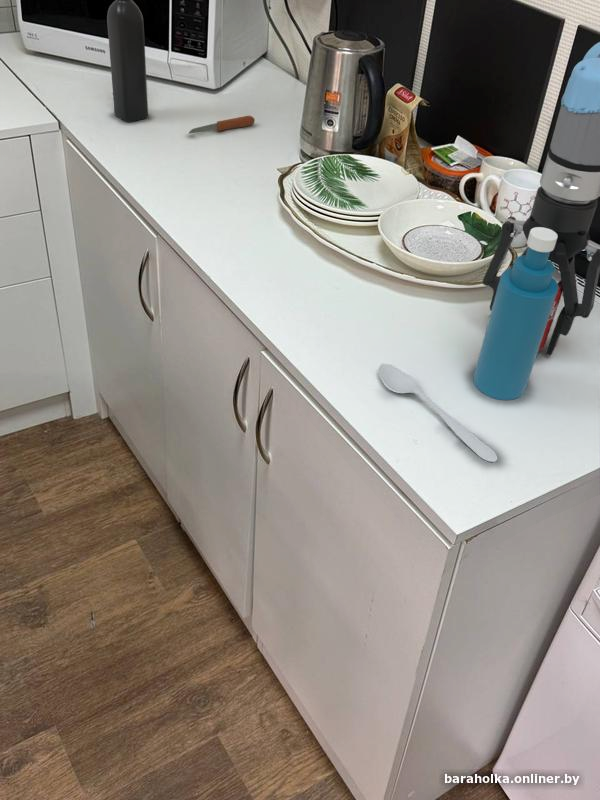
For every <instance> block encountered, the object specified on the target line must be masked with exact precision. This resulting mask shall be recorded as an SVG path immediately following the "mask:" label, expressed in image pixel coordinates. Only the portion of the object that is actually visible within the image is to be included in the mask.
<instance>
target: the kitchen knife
mask: <svg viewBox="0 0 600 800" xmlns="http://www.w3.org/2000/svg"><path fill="white" fill-rule="evenodd" d="M255 121H256V119H255V118H254V116H252V115H243V116H238V117H233V118H228V119H222V120H218V121H216V122H215V123H210V124H205V125H203V126H198V127H195V128H191V129H190V130H189V132H188V134H197V133H204V132H205V133H206V132H211V131H217V132H222V131H225V130H230V129H238V128H246V127H250V126H252V125H253V124H255Z"/></svg>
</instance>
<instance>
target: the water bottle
mask: <svg viewBox="0 0 600 800" xmlns="http://www.w3.org/2000/svg"><path fill="white" fill-rule="evenodd" d="M557 237H558V236H557V234H556V233H555V232H554V231H553V230H550V229H548V228H543V227H535V228H532V229H531V230H530V233H529V237H528V240H527V239H526V246H527V248H528V250H527V253H526V255H522V254H521V255H522V256H521V255H519V256H517V257H515V259H514V261H513V264H514V265H513V264H512V265H513V268H511V267H510V268H507V269H506V270H504V271H503V272H502V273H501V275H500V276H499V278H500V281H499V285H498V288H497V292H496V296H495V300H494V303H493V307H492V311H490V315H489V319H488V322H487V325H486V328H485V329H486V330H485V333H484V336H483V340H482V344H481V348H480V351H479V354H478V355H479V356H478V358H477V363H476V366H475V370H474V374H473V379H472V380H473V384H474V385H475V387H476V389H478V391H479V392H481V393H482V394H484V395H485V396H487V397H490V398H492V399H495V400H500V401H501V400H502V401H511V400H516V399H519V398H521V397H522V396H523V395H524V394H525V392H526V389H527V386H528V383H529V380H530V377H531V375H532V370H533V367H534V365H535V361H536V358H537V356H538V352H539V351H538V349H539V346H540V343H541V340H542V337H543V334H544V331H545V328H546V325H547V322H548V319H549V316H550V313H551V310H552V307H553V304H554V301H555V298H556V295H557V292H558V284H557V282H556V281H555V280H554V279H553V278H552V276H553V273H554V270H555V269H556V268H555V265H554V264H553V262H551V261H550V260H548V258H549V254H550V252H551V251H553V250H554V247H555V244H556V241H557Z"/></svg>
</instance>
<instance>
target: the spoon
mask: <svg viewBox="0 0 600 800" xmlns="http://www.w3.org/2000/svg"><path fill="white" fill-rule="evenodd" d="M377 371H378V376H379V378H380V380H381V382H382V383H383V385H384V386H385V387H386V388H387V389H388V390H389V391H391V392H394V393H398V394H410V393H412V394H416V395H417V396H418V397H420V398H421V399H422V400H423V401H424V402H425V403H426V404H427V405H428V406H429V407H431V408H432V410H434V411H435V412H436V413H437V415H438V416H439V417H440V418H441V419H442V420H443V421H444V423H445V424H446V425H447V426H448V427H449V428H450V429H451V430H452V431H453V433H454V434H455V435H456V436H457V438H459V439H460V440H461V441H462V442H463V443H464V444H465V445H466V446H467V447H468V448H470V450H472V451H473V452H474V453H475V454H476V455H477V456H478V457H479V458H480V459H482V460H483V461H486V462H489V463H495V462H497V461H498V456H497V453H496V451H494V450H493V449H492V448H491V447H490V446H489V445H487V444H486V443H484V442H483V441H481V439H480V438H478V437H477V436H476V435H475V434H473V433H472V432H471V431H469V430H468V429H467V428H466V427H465V426H464V425H462V424H461V423H460V422H458V421H457V420H456V419H455V418H454V417H452V416H451V415H449V414H448V413H447V412H446V411H445V410H443V409H442V408H441V407H440V406H438V405H437V404H436V402H434V401H432V400H431V398H429V396H427V394H426V393H425V392H423V390H422V389H421V388H420V387H419V384H418V382H417V381H416V380H415V379H414V378H413V377H411V376H410V375H408V374H407V373H405V371H403V370H402V369H400V368H398V367H396V366H394V365H392V364H389V363H381V364H380V365H379V367H378V370H377Z"/></svg>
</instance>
